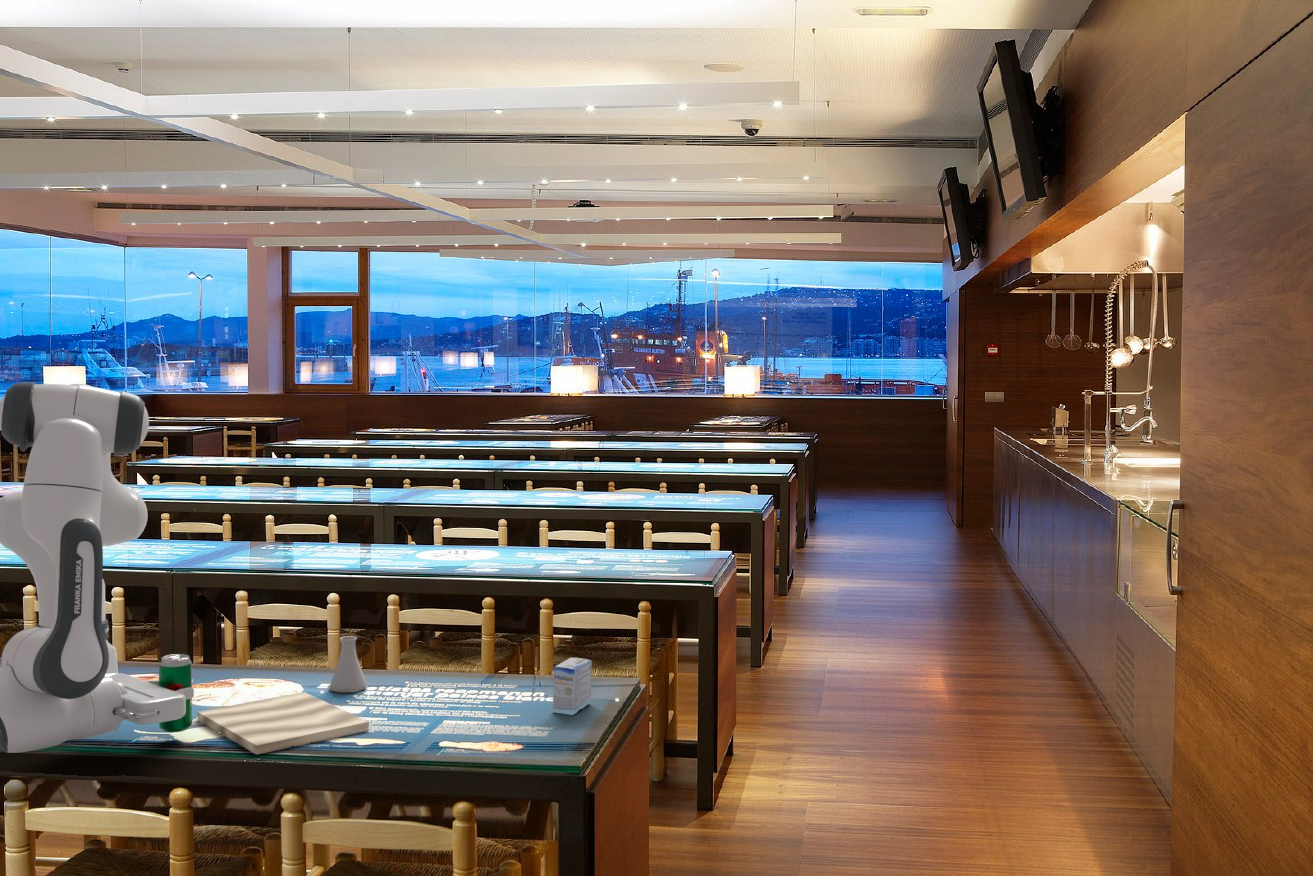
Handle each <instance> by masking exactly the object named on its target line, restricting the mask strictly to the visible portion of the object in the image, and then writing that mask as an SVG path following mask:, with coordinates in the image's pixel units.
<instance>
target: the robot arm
mask: <svg viewBox="0 0 1313 876" xmlns="http://www.w3.org/2000/svg"><path fill="white" fill-rule="evenodd" d="M145 405H146V403H145V401H143V399H142V398H141V397H140V396H138V395H136V394H134V393H131V392H127V391H124V390H122V391H119V392H118V391H115V390H110V389H105V388H101V387H95V386H92V385H88V384H83V383H73V384H71V383H70V384H59V383H55V384H53V383H51V384H50V383H49V384H48V383H46V384H45V383H44V384H43V383H41V384H38V383H37V384H36V382H35V381H32V382H31V381H28V382H27V381H26V382H17V383H14V384H12V385H11V386H10V387H9V388H7V390H6V392H5V394H4V395H3V397H2V398H1V400H0V433H1V436H2V437H3V438H4V439H5V440H6V441H7V442H8V443H9V444H11V445H13V446H16V447H19V450H20V451H22V452H25V451H26V450H27V449H28V448H30V447H31V449H30V453H29V457H28V460H27V465H26V468H25V469H26V470H25V474H24V480H23V488H22V491H16V492H13V493H9V494H5V495H3V496H1V497H0V545H2V546H3V547H4V548H6V549H7V550H9V551H10V552H12V553H14V554H15V555H17V557H19V558H20V559H21V560H22V561H23V562H24V564H25V565H26V566H27V568H28V569H29V571H30V573H31V575H32V577H33V580H34V583H35V587H36V595H37V606H38V624H36V626H33V627H28V628H24V629H22V630H19V631H18V632H16V633H14V634H13V635H12V636H11V637H10V638H9V639H8V641H6V643H5V645H4V647H3V648H2V652H1V655H0V751H2V752H5V753H9V754H10V753H11V754H12V753H14V754H15V753H25V752H31V751H38V750H43V749H49V748H51V747H54V746H58V745H61V744H63V743H64V742H66V741H69V740H85V739H89V738H93V737H97V736H101V735H105V734H110V733H114V732H116V731H118V729H119V727H120V726H121V724H122V722H124V721H125V720H126V721H128V722H131V723H133V724H135V725H138V726H139V725H141V726H145V725H146V726H147V725H155V724H156V725H157V724H159V723H161V722H167V721H172V720H176V719H180V718H182V717H183V716H184V715H185V713H186V700H187V699H191V698H192V699H193V698H194V695H195V694H194V691H195V690H194V688H193V687H192V688H191V687H188V686H185V687H181V688H179V690H177V691H171V690H169V689H166V688H163V687H160V686H159V679H158V680H157V679H155V680H154V679H152V680H151V679H149V680H148V679H147V680H143V679H140V678H137V677H135V676H132V675H129V674H126V673H123V672H119V669H118V668H119V667H118V666H119V665H118V653H117V648H116V646H114V645H112V644H111V643H110V642H109V640H108V639H109V631H110V628H109V627H110V626H109V620H108V619H107V618H106V583H105V580H104V578H103V577H104V575H103V574H104V573H103V572H104V570H103V569H104V564H103V563H104V550H103V549H104V548H103V547H110V546H116V545H119V544H124V543H128V542H132V541H135V540H137V539H138V538H139V537H140V536H141V535H142V533H143V532H144V530H145V528H146V526H147V522H148V516H149V515H148V514H149V513H148V508H147V505H146V502H145V500H144V498H142V496H141V495H140V494H139V493H138V492H137V491H136V490H134V489H132V488H130V487H127V486H126V485H124V484H122V483H121V482H119V481H118V479H117V478H116V477H115V476H114V474H113V472H112V465H111V462H112V460H111V455H112V453H113V455H114V456H115V455H116V456H118V455H127V454H132V453H134V452H135V451H137V450H139V449H140V448H141V445H142V443H143V442H144V440H145V439H146V437H147V434H148V432H149V428H150V427H149V425H150V419H149V413H148V410H147V408H146V406H145Z"/></svg>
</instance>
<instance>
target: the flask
mask: <svg viewBox="0 0 1313 876" xmlns="http://www.w3.org/2000/svg"><path fill="white" fill-rule="evenodd" d="M357 639H358V638H357V636H352V635H349V636H347V635H346V636H341V637H339V642H340V652H339V658H338V661H337V665H336V668H335V671H334V674H333V675H332V676H333V677H332V679H331V681H330V684H329V688H328V691H330V692H335V693H356V692H360V691H362V690H363V691H364V690H365V689H366V688H367V686H368V683H367V680H366V678H365V674H364V671H363V670H362V667H361V664H360V661H359V658H358V654H357V650H356V641H357Z"/></svg>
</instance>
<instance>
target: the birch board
mask: <svg viewBox="0 0 1313 876" xmlns="http://www.w3.org/2000/svg"><path fill="white" fill-rule="evenodd" d="M196 714H197V715H196V716H197V718H196V719H197V721H198V722H200V723H202V724H203V725H205V726H207V727H208V728H210V729H212V730H213V731H215V732H217V733H218V732H220V733H221V734H220V733H219V734H220V735H222V736H223V737H226V738H227V737H228V738H227V739H229V738H230V739H231V740H230V739H229V740H230V741H232V742H235V743H236V742H237V743H238V744H237V743H236V744H237V745H239V746H241V747H243V748H244V749H246V750H247V751H249V752H250V753H253V754H254V755H261V754H265V753H269V752H270V753H271V752H275V751H280V750H284V749H288V748H289V749H290V748H292V747H291V746H294V747H298V746H303V745H307V744H311V742H313V743H317V742H321V741H326V740H330V739H329V738H331V739H335V738H334V737H336V738H340V737H346V736H349V735H354V734H359V733H362V732H363V733H364V732H368V731H369V730H370V728H369V727H370V724H369V723H370V722H369V721H368V720H366V719H364V718H362V717H361V716H360V717H359V716H357V715H355V714H353V713H350V712H348V711H346V710H344V709H342V708H340V707H338V706H335V705H333V704H331V703H329V702H327V701H324V700H322V699H321V698H318V697H316V696H314V695H311V694H309V693H307V692H306V691H304V692H298V693H292V694H286V695H282V696H276V697H271V698H265V699H258V700H254V701H253V700H252V701H249V702H243V703H239V704H232V705H227V706H223V707H222V706H220V707H217V708H210V709H206V710H199V711H197V713H196Z"/></svg>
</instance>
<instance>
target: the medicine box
mask: <svg viewBox="0 0 1313 876" xmlns="http://www.w3.org/2000/svg"><path fill="white" fill-rule="evenodd" d="M592 662H593V661H592V660H591V659H587V658H581V657H580V658H579V657H569V658H567V659H566V660H564V661H562V662H561V663H559V664H556V665H555V666H553V679H552V680H553V682H552V683H553V686H552V710H553V709H558V710H576V709H577V708H579V707H580V706H581V705H583V704H584V703H585V702H586V701H588V700H590V699H592V673H593V671H592V666H593V665H592Z"/></svg>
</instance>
